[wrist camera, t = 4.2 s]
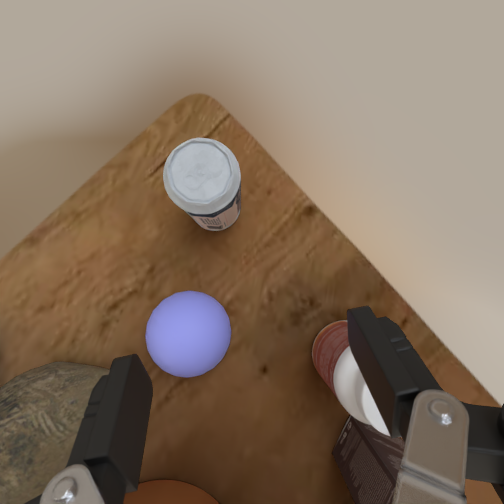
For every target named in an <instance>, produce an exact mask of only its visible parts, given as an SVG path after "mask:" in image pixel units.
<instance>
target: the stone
mask: <svg viewBox="0 0 504 504" xmlns="http://www.w3.org/2000/svg"><path fill="white" fill-rule="evenodd" d="M109 372H110V370H109V369H106V368H102V367H98V366H91V365H84V364H78V363H72V362H53V363H50V364H47V365H44V366H41V367H38V368H35V369H32V370H29V371H27V372H25V373H23V374H21V375H19V376H16V377H15V378H14V379H12V380H10V381H9V382H8V383H6V384H5V385H3V386H2V387H1V388H0V504H24V503H26V502H28V501H30V500H32V499H34V498H35V497H37V496H39V495H41V494H42V493H43V491H44V489H45V488H46V486H47V485H48V483H49V482H50V481H51V479H52V478H53V477H54V476H55V475H56V474H57V473H59V472H60V471H61V470H63V469H65V467H66V465H67V462H68V460H69V457H70V454H71V451H72V448H73V445H74V442H75V439H76V436H77V433H78V430H79V427H80V424H81V421H82V418H84V412H85V409H86V407H87V406H88V401H89V398H90V395H91V392H92V389H93V388H94V386H95V385H96V383H97V382H98V381H99V379H100V378H101V377H102V376H103V375H108V374H109Z"/></svg>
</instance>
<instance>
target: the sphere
mask: <svg viewBox="0 0 504 504" xmlns="http://www.w3.org/2000/svg"><path fill="white" fill-rule="evenodd" d="M145 338H146V344H147V350H148V352H149V354H150V355H151V357H152V359H153V361H154V362H155V363H156V364H157V365H158V366H159V367H160V368H161V369H162V370H163V371H165V372H168V373H170V374H172V375H174V376H179V377H187V378H189V377H194V376H199V375H202V374H204V373H206V372H207V371H209V370H211V369H213V368H214V367H215V366H216V365H217V364H218V363H219V362H220V361H221V360H222V359H223V357H224V355H225V353H226V351H227V349H228V347H229V345H230V338H231V327H230V321H229V317H228V315H227V313H226V311H225V310H224V308H223V306H222V305H221V304H220V303H219V302H218V301H217V300H216V299H214V298H213V297H211V296H209V295H207V294H205V293H203V292H196V291H184V292H179V293H175V294H173V295H171V296H169V297H167V298H166V299H164V300H163V301H162V302H161V303H160V304H159V305H158V306H157V307H156V308H155V309H154V310H153V312H152V314H151V316H150V318H149V320H148V322H147V329H146V336H145Z"/></svg>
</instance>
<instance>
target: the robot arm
mask: <svg viewBox="0 0 504 504" xmlns="http://www.w3.org/2000/svg"><path fill="white" fill-rule="evenodd" d="M347 328H348V342H349V346H350V349H351V352H352V355H353V357H354V359H355V361H356V363H357V365H358V367H359V370H360V372H361V374H362V376H363V378H364V380H365V382H366V385H367V387H368V389H369V391H370V393H371V395H372V397H373V400H374V402H375V404H376V406H377V408H378V410H379V412H380V415H381V417H382V419H383V421H384V423H385V425H386V427H387V430H388V432H389V434H390V436H391V438H396V437H400V436H401V437H402V439H403V441H404V443H405V447H404V452H403V457H402V461H401V465H400V468H399V472H398V477H397V481H396V486H395V491H394V496H393V501H392V504H467V500H466V496H465V492H464V489H465V479H471V480H477V481H484V482H490V483H491V484H492V486H493V487H494V489H495V491H496V492H497V494H498V496H499V498H500V499H501V501H502V503H503V504H504V404H503V406H502V408H498V407H489V406H479V405H471V404H467V403H464V402H461V401H459V400H458V399H457V398H455V397H454V396H453V395H451V394H449V393H447V392H445V391H444V390H443V389H442V388H441V387H440V386H439V384H438V383H437V382H436V380H435V379H434V377H433V376H432V374H431V373H430V371H429V370H428V368H427V367H426V365H425V364H424V362H423V361H422V359H421V358H420V356H419V355H418V354H417V352H416V351H415V349H413V346H412V345H411V343H410V342H409V340H408V339H407V338H406V336H405V334H404V333H403V331H402V330H401V329H400V327H399V326H398V325H397V324H396V323H394V322H393V321H392V320H390V319H389V318H387V317H381V318H376V316H375V315H374V313H373V312H372V310H371V308H370V307H369V306H362V307H358V308H353V309H348V310H347ZM152 396H153V387H152V382H151V379H150V377H149V375H148V373H147V371H146V369H145V367H144V366H143V364H142V362H141V360H140V358H139V357H138V355H137V354H132V355H127V356H123V357H118V358H115V359H114V360H113V362H112V365H111V368H110V372H109V374H108V375H103V376H102V377H101V378H100V379H99V381H98V382H97V383H96V385H95V386H94V388H93V389H92V392H91V395H90V398H89V401H88V406H87V407H86V409H85V412H84V418H82V421H81V424H80V427H79V430H78V433H77V436H76V439H75V442H74V445H73V448H72V451H71V454H70V457H69V460H68V462H67V465H66V467H65V469H63V470H61V471H60V472H59V473H57V474H56V475H55V476H54V477H53V478H52V479H51V481H50V482H49V483H48V485H47V486H46V488H45V489H44V491H43V493H42V494H41V495H39V496H37V497H35V498H34V499H32V500H30V501H28V502H26V503H24V504H123V502H124V497H125V493H129V492H134V491H137V489H138V483H139V477H140V471H141V465H142V458H143V452H144V446H145V440H146V433H147V427H148V421H149V415H150V408H151V402H152Z"/></svg>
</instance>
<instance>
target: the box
mask: <svg viewBox="0 0 504 504" xmlns="http://www.w3.org/2000/svg"><path fill="white" fill-rule="evenodd" d="M404 447H405V443H404V441H403V440H402V439H400V438H398V437H396V438H391V436H388V435H385V434H383V433H381V432H379V431H378V430H376V429H375V428H374V427H373V426H372V425H369V424H366V423H363V422H361V421H359V420H357V419H356V418H354V417H353V416H352V415H351V416H350V417H349V419H348V420H347V422H346V424H345V426H344V428H343V430H342V432H341V435H340V437H339V438H338V441H337V443H336V445H335V447H334V449H333V452H332V454H333V456H334V459H335V461H336V463H337V465H338V467H339V469H340V472H341V474H342V476H343V478H344V480H345V483H346V485H347V487H348V489H349V491H350V493H351V495H352V498H353V500H354V502H355V504H392V501H393V496H394V491H395V486H396V481H397V477H398V472H399V468H400V465H401V461H402V457H403V452H404Z"/></svg>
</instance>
